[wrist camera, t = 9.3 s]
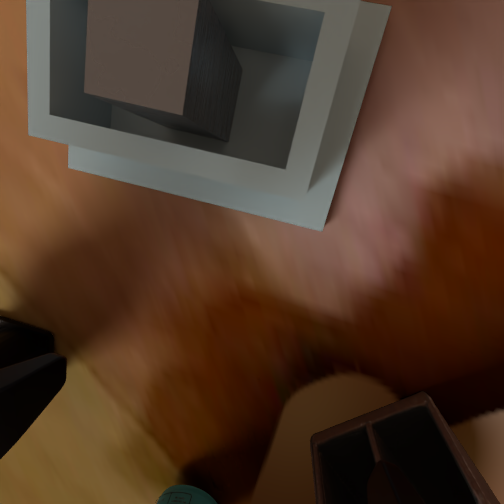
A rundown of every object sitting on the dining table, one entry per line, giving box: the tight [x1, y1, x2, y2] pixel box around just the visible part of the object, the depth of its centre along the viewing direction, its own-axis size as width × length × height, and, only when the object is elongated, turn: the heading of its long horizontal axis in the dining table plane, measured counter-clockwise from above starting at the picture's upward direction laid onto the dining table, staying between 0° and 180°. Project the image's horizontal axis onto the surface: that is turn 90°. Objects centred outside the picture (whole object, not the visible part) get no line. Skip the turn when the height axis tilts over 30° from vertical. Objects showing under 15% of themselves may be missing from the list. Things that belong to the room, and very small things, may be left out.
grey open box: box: [26, 0, 392, 231], centre depth 14 cm, size 18×12×6 cm, turn 77°
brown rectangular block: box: [84, 0, 243, 142], centre depth 13 cm, size 4×4×7 cm
